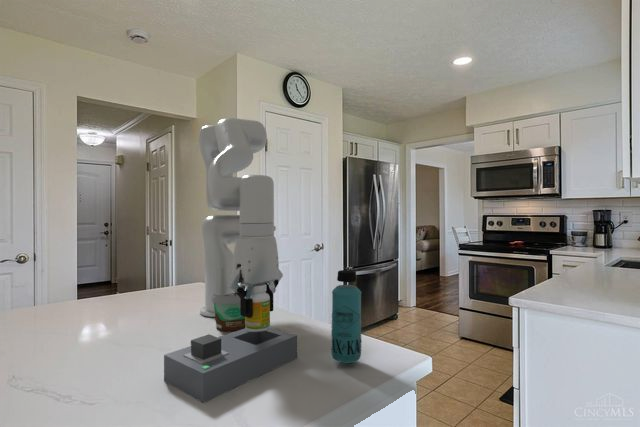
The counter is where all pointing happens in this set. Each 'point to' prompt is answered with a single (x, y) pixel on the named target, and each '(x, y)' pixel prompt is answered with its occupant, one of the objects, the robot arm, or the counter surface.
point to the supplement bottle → (259, 309)
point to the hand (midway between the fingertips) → (257, 312)
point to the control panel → (227, 361)
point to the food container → (228, 313)
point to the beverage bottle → (346, 319)
